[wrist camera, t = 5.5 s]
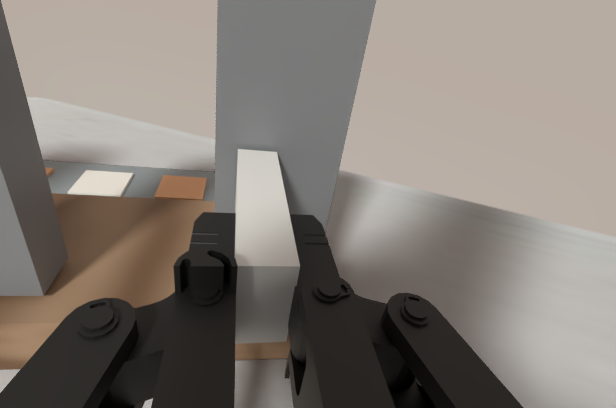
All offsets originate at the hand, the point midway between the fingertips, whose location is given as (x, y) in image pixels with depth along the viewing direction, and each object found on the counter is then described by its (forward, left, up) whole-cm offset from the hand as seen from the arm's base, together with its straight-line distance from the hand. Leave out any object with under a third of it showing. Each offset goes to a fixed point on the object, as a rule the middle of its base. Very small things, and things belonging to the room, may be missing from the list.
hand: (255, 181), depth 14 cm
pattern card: (+3, -18, -9) cm, 20 cm away
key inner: (-2, -1, -6) cm, 6 cm away
